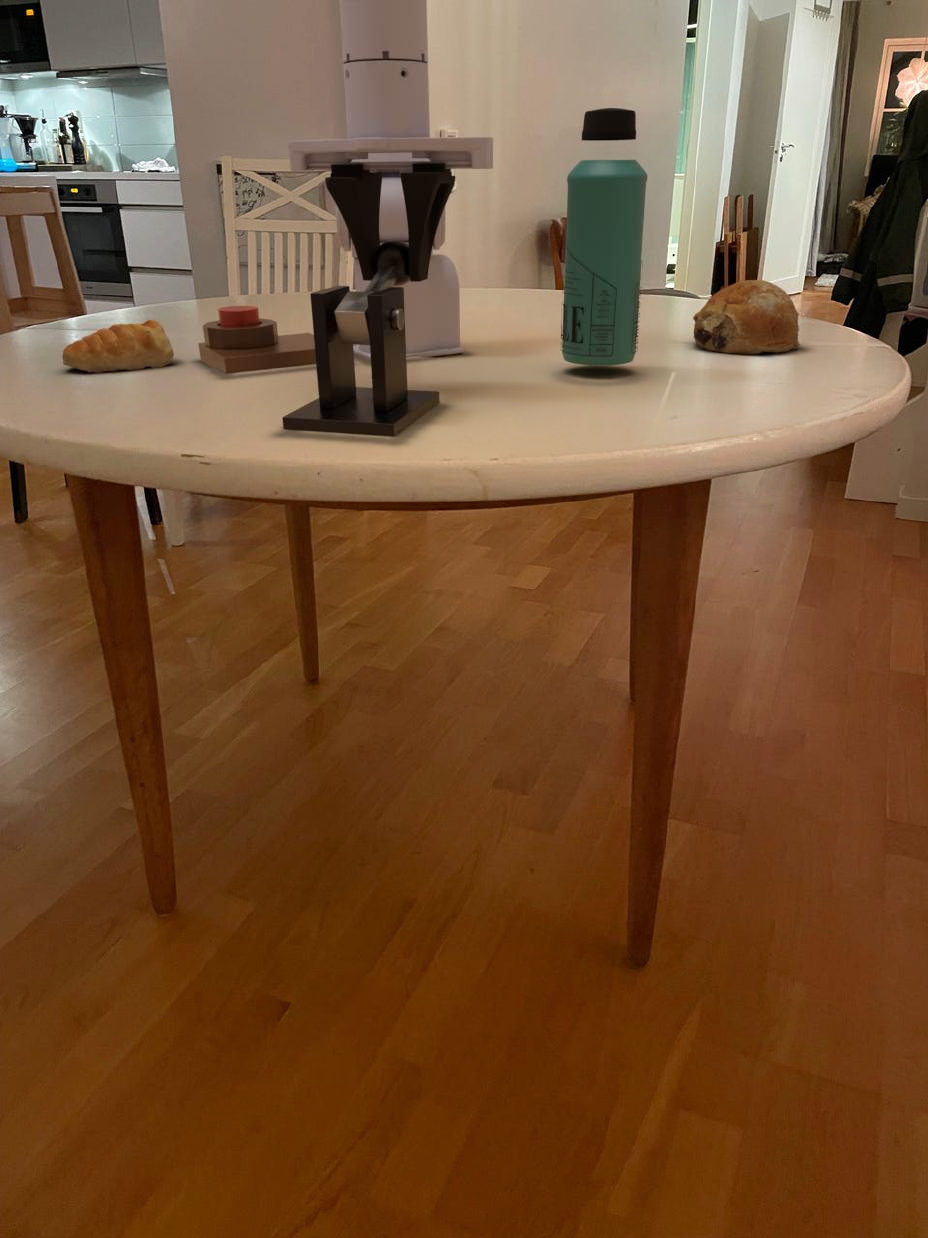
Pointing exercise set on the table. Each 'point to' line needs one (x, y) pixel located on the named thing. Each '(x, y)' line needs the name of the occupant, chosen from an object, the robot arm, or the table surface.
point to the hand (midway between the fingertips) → (395, 279)
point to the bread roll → (748, 320)
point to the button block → (254, 347)
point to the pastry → (121, 348)
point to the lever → (354, 306)
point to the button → (238, 316)
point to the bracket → (338, 395)
